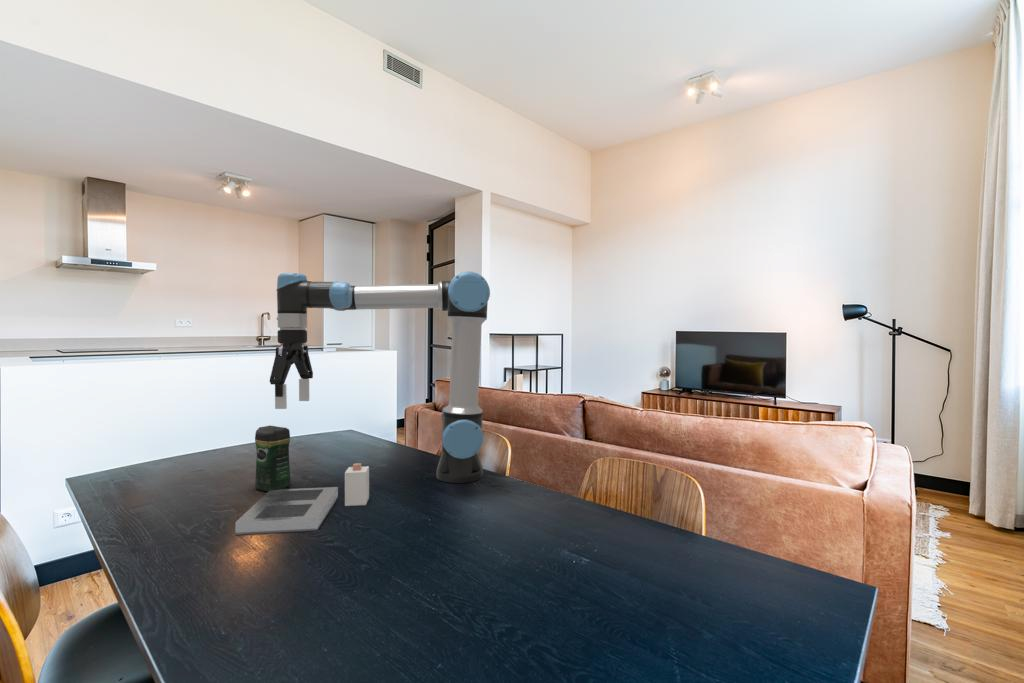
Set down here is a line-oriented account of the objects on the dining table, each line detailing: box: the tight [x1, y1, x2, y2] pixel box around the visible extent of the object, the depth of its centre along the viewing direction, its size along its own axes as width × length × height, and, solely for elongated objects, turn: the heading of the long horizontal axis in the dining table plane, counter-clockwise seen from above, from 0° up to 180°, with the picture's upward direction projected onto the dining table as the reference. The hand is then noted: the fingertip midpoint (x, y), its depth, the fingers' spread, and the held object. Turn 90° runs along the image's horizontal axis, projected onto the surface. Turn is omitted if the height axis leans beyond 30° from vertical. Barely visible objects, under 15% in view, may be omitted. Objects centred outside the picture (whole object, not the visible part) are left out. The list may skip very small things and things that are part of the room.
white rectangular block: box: [344, 462, 370, 507], centre depth 129 cm, size 6×6×10 cm
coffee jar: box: [254, 425, 291, 492], centre depth 140 cm, size 10×8×19 cm
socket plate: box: [235, 486, 339, 536], centre depth 120 cm, size 18×22×3 cm
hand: (293, 404), depth 131 cm, fingers open, 13 cm apart
